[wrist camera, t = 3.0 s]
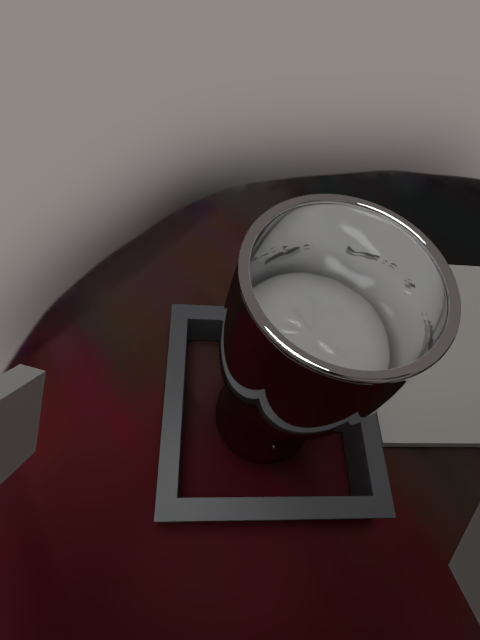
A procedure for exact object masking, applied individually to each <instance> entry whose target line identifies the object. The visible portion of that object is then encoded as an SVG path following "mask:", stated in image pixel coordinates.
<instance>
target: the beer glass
mask: <svg viewBox="0 0 480 640" xmlns="http://www.w3.org/2000/svg"><path fill="white" fill-rule="evenodd" d="M460 317H461V301H460V295H459V290H458V286H457V283H456V280H455V277H454V275H453V273H452V270H451V269H450V267H449V265H448V263H447V261H446V260H445V258H444V257H443V255H442V254H441V252H440V251H439V250H438V248H437V247H436V246H435V245H434V244H433V243H432V242H431V240H430V239H429V238H428V237H427V236H426V235H425V234H424V233H422V232H421V231H420V230H419V229H418V228H417V227H415V226H414V225H413V224H411V223H410V222H409V221H407V220H406V219H404V218H403V217H401V216H399V215H398V214H396V213H394V212H392V211H391V210H389V209H387V208H384V207H382V206H380V205H377V204H375V203H372V202H369V201H366V200H363V199H359V198H355V197H351V196H345V195H337V194H312V195H305V196H300V197H296V198H292V199H289V200H286V201H284V202H282V203H279V204H277V205H276V206H274V207H272V208H270V209H269V210H267V211H266V212H265V213H263V214H262V215H261V216H260V217H259V218H258V219H257V220H256V221H255V222H254V223H253V224H252V226H251V227H250V229H249V230H248V232H247V233H246V235H245V237H244V239H243V242H242V244H241V247H240V251H239V256H238V262H237V266H236V269H235V272H234V275H233V278H232V281H231V284H230V288H229V291H228V294H227V298H226V302H225V306H224V311H223V316H222V321H221V327H220V339H219V359H220V367H221V374H222V379H223V383H224V386H223V388H222V389H221V391H220V394H219V396H218V399H217V403H216V422H217V427H218V430H219V432H220V434H221V436H222V438H223V440H224V441H225V443H226V444H227V445H228V446H229V448H230V449H231V450H233V451H234V452H235V453H236V454H238V455H239V456H241V457H242V458H244V459H246V460H249V461H252V462H255V463H261V464H271V463H277V462H280V461H283V460H285V459H287V458H289V457H291V456H292V455H294V454H295V453H296V452H297V451H298V450H299V449H300V448H301V447H302V445H303V444H304V442H305V440H312V439H317V438H321V437H325V436H329V435H332V434H336V433H339V432H341V431H344V430H346V429H348V428H350V427H352V426H353V425H355V424H357V423H359V422H361V421H363V420H365V419H366V418H368V417H369V416H371V415H372V414H374V413H375V412H376V411H378V410H379V409H380V408H382V407H383V406H385V405H386V404H387V403H389V402H390V401H391V400H392V399H393V398H395V397H396V396H397V395H398V394H399V393H400V392H402V391H403V390H404V389H405V388H406V387H407V386H408V385H410V384H411V383H412V382H413V381H414V380H415V379H416V378H417V377H418V376H419V375H420V374H421V373H423V372H424V371H426V370H427V369H429V368H430V367H432V366H433V365H434V364H436V363H437V362H438V361H439V360H440V359H441V358H442V357H443V356H444V355H445V354H446V352H447V351H448V350H449V348H450V347H451V345H452V343H453V341H454V339H455V337H456V334H457V332H458V328H459V324H460Z"/></svg>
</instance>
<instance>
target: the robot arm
mask: <svg viewBox="0 0 480 640" xmlns="http://www.w3.org/2000/svg"><path fill="white" fill-rule="evenodd" d="M44 379H45V371H43V370H40V369H36V368H32V367H29V366H25V365H21V364H20V365H18V366H16V367H14V368H12V369H11V370H9V371H7V372H5V373H3V374H1V375H0V484H1V483H2V482H4V481H5V480H6V479H7V478H8V477H9V476H10V475H11V474H12V473H13V472H14V471H15V470H16V469H17V468H18V467H19V466H20V465H21V464H22V463H24V462H25V461H26V460H27V459H28V458H29V457H30V456H31V455H32V454H33V453H34V452H35V449H36V442H37V434H38V426H39V418H40V410H41V403H42V395H43V387H44ZM448 566H449V568H450V569H451V571H452V573H453V575H454V577H455V579H456V581H457V583H458V585H459V586H460V588H461V590H462V592H463V594H464V596H465V598H466V600H467V602H468V604H469V605H470V607H471V609H472V611H473V613H474V615H475V617H476V619H477V621H478V622H479V624H480V503H479V505H478V507H477V509H476V511H475V513H474V515H473V517H472V519H471V521H470V523H469V525H468V527H467V529H466V531H465V533H464V535H463V537H462V539H461V541H460V543H459V545H458V547H457V549H456V551H455V553H454V555H453V557H452V559H451V561H450V563H449V565H448Z"/></svg>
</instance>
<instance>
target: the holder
mask: <svg viewBox="0 0 480 640" xmlns="http://www.w3.org/2000/svg"><path fill="white" fill-rule="evenodd" d="M223 311H224V306H206V305H184V304H172V313H171V325H170V337H169V349H168V361H167V373H166V385H165V397H164V408H163V420H162V432H161V444H160V456H159V468H158V480H157V492H156V503H155V515H154V522H158V523H165V522H224V521H282V520H340V519H380V518H396V514H395V509H394V504H393V499H392V494H391V489H390V484H389V479H388V473H387V468H386V463H385V458H384V453H383V448H382V443H381V438H380V432H379V427H378V422H377V417H376V412H375V413H374V414H372V415H371V416H369V417H368V418H366V419H365V420H363V421H361V422H359V423H357V424H355V425H353V426H352V427H350V428H348V429H346V430H344V431H342V438H343V445H344V451H345V458H346V465H347V472H348V479H349V485H350V492H351V496H318V497H220V498H179V487H180V469H181V452H182V434H183V417H184V399H185V382H186V364H187V347H188V340H204V341H219V339H220V327H221V321H222V316H223Z"/></svg>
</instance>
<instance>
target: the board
mask: <svg viewBox="0 0 480 640" xmlns="http://www.w3.org/2000/svg"><path fill="white" fill-rule="evenodd" d="M449 267H450V269H451V270H452V273H453V275H454V277H455V280H456V283H457V286H458V290H459V295H460V301H461V317H460V324H459V328H458V332H457V334H456V337H455V339H454V341H453V343H452V345H451V347H450V348H449V350H448V351H447V352H446V354H445V355H444V356H443V357H442V358H441V359H440V360H439V361H438V362H437V363H436V364H434V365H433V366H432V367H430V368H429V369H427V370H426V371H424V372H423V373H421V374H420V375H419V376H418V377H417V378H416V379H415V380H414V381H413V382H412V383H411V384H410V385H408V386H407V387H406V388H405V389H404V390H403V391H402V392H400V393H399V394H398V395H397V396H396V397H395V398H393V399H392V400H391V401H390V402H389V403H387V404H386V405H385V406H383V407H382V408H380V409H379V410H378V411H376V417H377V422H378V427H379V432H380V438H381V443H382V447H480V267H478V266H462V265H449Z"/></svg>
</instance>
